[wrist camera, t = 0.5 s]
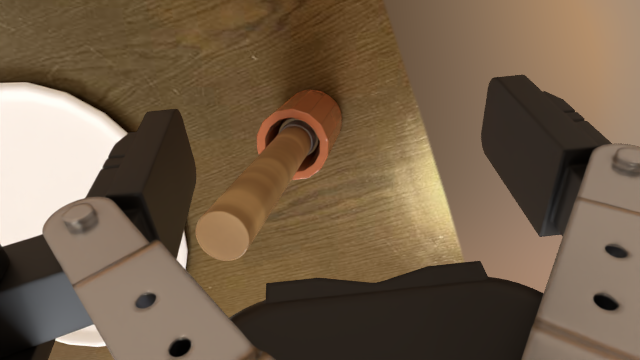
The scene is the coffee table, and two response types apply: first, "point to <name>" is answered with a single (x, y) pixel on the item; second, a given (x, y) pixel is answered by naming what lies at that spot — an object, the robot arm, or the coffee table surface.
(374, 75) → the coffee table surface
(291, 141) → the light brown wooden rod
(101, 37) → the coffee table surface
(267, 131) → the holder
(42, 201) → the plate
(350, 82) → the coffee table surface
